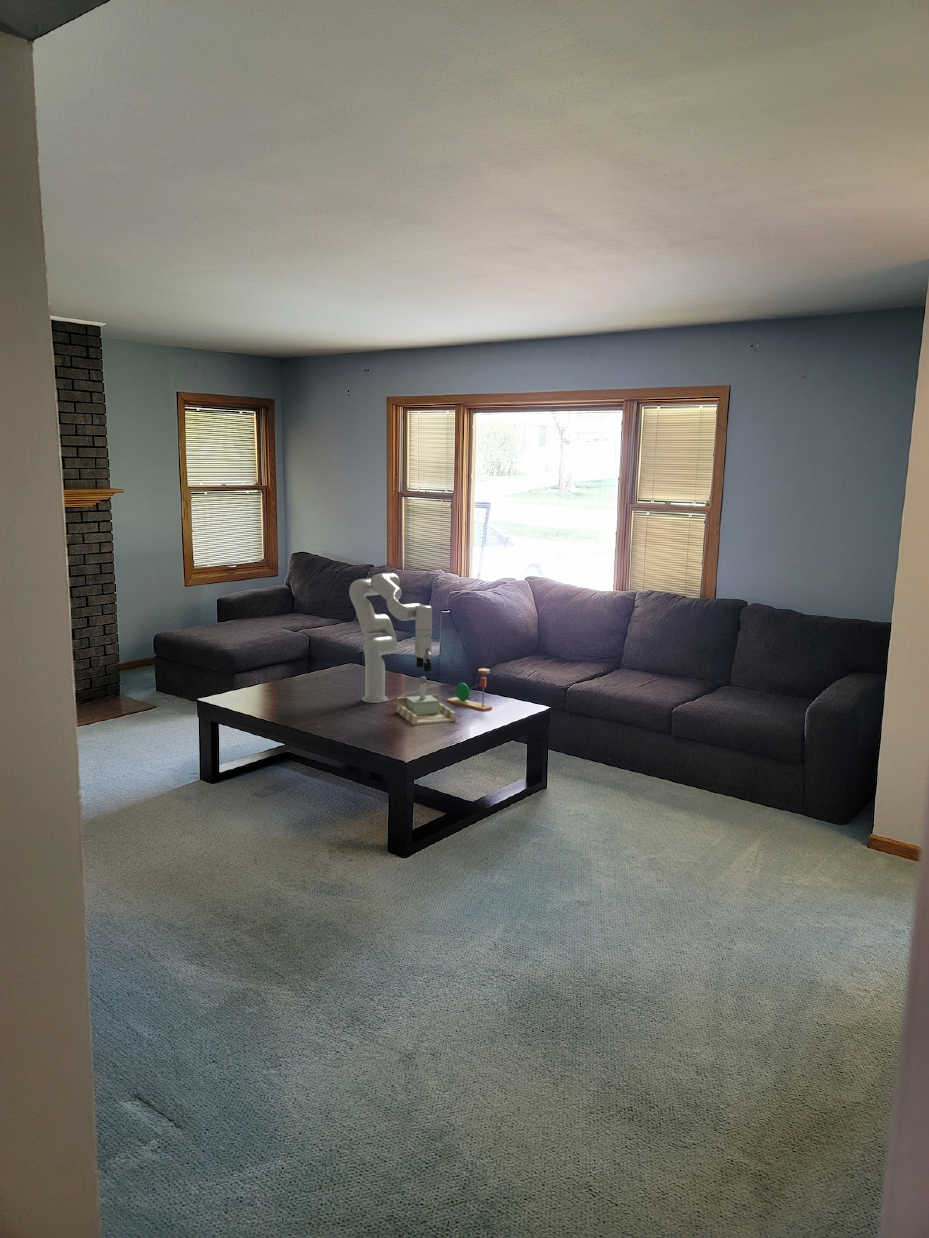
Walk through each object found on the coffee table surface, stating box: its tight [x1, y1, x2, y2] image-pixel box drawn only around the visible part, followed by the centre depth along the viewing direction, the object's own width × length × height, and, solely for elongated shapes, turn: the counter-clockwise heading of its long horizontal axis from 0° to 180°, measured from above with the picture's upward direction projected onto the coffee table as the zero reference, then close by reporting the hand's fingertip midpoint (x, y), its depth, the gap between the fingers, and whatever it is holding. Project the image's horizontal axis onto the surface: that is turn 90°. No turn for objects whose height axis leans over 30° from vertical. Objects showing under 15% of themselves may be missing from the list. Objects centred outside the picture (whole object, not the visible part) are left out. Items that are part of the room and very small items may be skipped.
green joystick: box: [406, 676, 440, 715], centre depth 406 cm, size 10×12×17 cm
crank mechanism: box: [446, 667, 493, 712], centre depth 424 cm, size 25×7×19 cm, turn 47°
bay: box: [396, 693, 457, 726], centre depth 403 cm, size 23×20×7 cm
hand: (423, 669), depth 404 cm, fingers open, 9 cm apart
